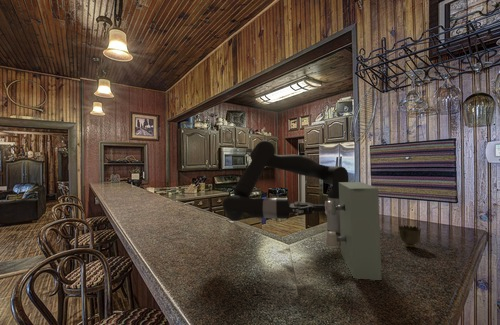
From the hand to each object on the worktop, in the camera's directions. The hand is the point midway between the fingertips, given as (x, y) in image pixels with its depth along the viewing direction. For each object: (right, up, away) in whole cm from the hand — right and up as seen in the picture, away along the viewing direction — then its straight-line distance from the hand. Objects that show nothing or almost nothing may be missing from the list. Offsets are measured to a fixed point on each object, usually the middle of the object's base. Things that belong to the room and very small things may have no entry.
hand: (324, 208), depth 83 cm
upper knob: (+4, -2, -1) cm, 5 cm away
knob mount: (+11, -20, -2) cm, 23 cm away
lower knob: (+4, -13, -1) cm, 14 cm away
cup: (+39, -19, +13) cm, 45 cm away
